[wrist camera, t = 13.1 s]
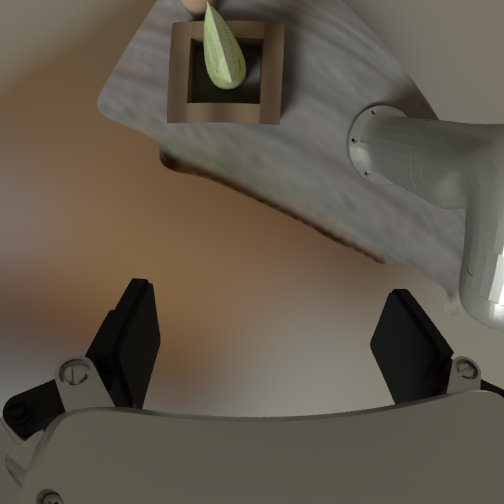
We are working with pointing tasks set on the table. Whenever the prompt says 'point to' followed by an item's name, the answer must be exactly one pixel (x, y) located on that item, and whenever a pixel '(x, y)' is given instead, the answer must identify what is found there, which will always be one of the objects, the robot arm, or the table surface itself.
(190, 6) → the short stub
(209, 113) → the square wooden frame
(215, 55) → the tube
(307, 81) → the table surface
